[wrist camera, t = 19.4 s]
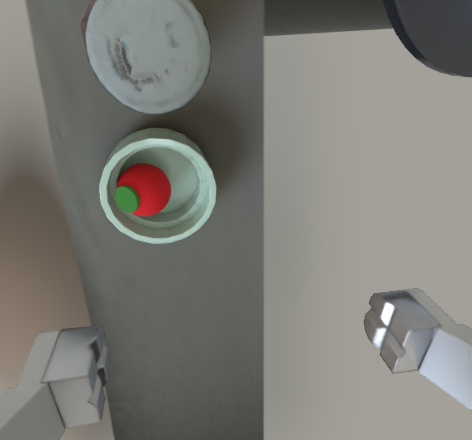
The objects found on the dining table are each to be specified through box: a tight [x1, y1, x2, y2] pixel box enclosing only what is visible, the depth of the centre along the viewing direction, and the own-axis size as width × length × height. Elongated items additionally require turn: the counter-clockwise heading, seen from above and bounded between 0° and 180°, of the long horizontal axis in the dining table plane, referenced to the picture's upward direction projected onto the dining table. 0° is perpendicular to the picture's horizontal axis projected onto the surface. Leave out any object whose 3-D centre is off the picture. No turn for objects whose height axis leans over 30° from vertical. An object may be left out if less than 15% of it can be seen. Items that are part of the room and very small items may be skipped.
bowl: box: [99, 128, 216, 243], centre depth 31 cm, size 10×10×4 cm
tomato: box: [115, 163, 171, 216], centre depth 30 cm, size 5×5×5 cm
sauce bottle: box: [81, 0, 211, 114], centre depth 19 cm, size 7×6×20 cm
